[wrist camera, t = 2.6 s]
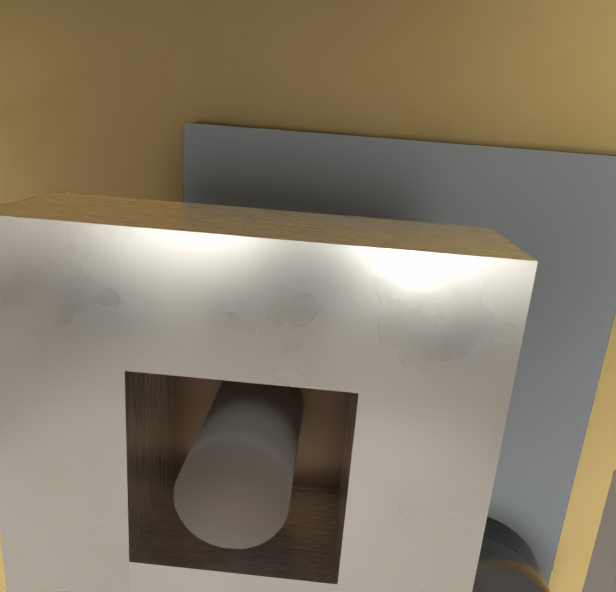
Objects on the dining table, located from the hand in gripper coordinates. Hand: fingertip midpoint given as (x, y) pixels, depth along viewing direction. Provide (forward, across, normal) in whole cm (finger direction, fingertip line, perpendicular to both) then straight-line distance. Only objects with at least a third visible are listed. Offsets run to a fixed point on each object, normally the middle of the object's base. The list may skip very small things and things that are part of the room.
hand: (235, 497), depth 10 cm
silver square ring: (+3, 0, 0) cm, 3 cm away
